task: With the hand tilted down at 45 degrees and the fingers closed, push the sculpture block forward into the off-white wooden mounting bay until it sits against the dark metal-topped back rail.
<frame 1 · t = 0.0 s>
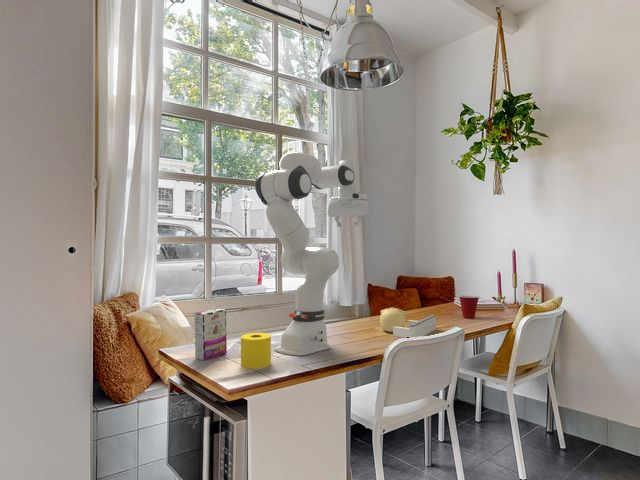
hand: (347, 226, 191), 48 cm above the table, tool pointing down, fingers open, 8 cm apart
yellow toilet paper roll: (256, 364, 141), on the table
plastic cup: (468, 318, 222), on the table
candy bar box: (210, 356, 150), on the table
sculpture: (392, 331, 191), on the table
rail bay: (419, 334, 184), on the table
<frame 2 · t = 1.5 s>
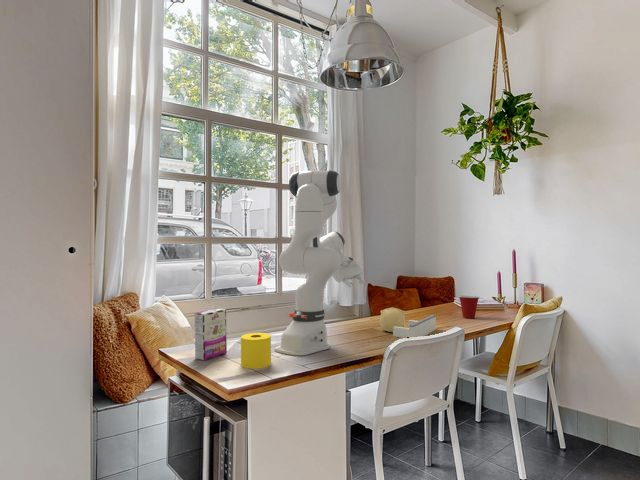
hand: (357, 285, 201), 20 cm above the table, tool tilted 45°, fingers open, 8 cm apart
nothing on the table moved.
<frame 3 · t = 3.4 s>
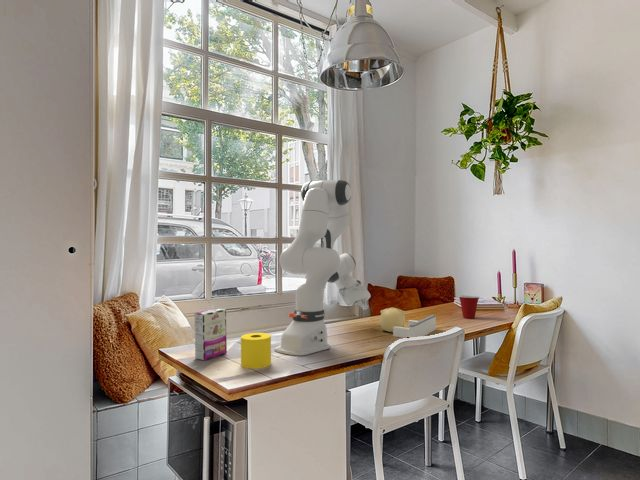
hand: (366, 308, 199), 9 cm above the table, tool tilted 45°, fingers closed
nothing on the table moved.
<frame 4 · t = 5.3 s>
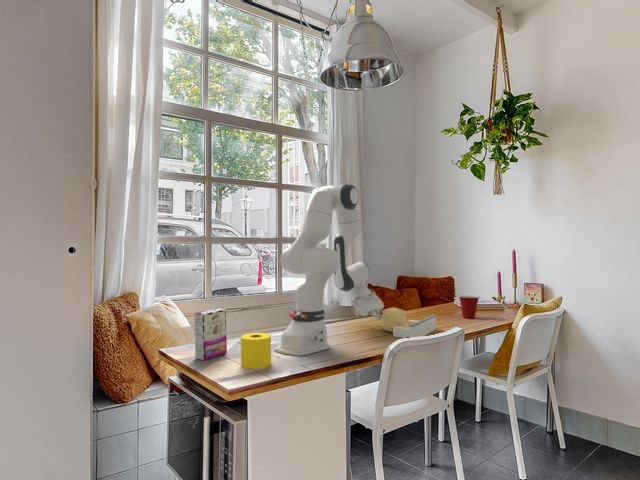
hand: (380, 319, 194), 5 cm above the table, tool tilted 45°, fingers closed
sculpture: (393, 331, 191), on the table, touching gripper
everything else where it was.
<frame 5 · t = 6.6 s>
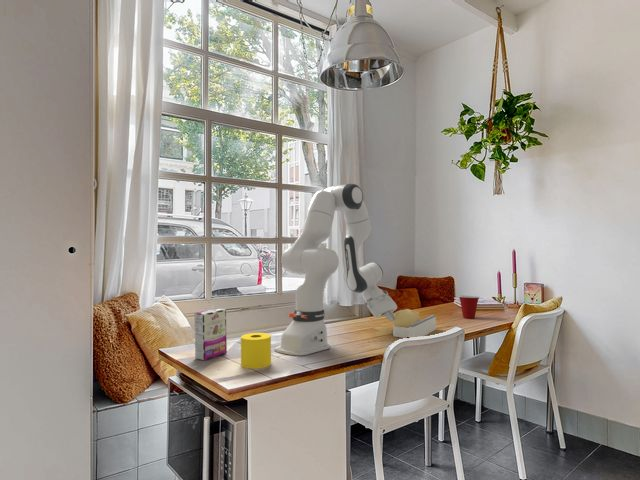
hand: (394, 320, 191), 5 cm above the table, tool tilted 45°, fingers closed, pressing on sculpture
sculpture: (406, 333, 186), on the table, touching gripper
everything else where it was.
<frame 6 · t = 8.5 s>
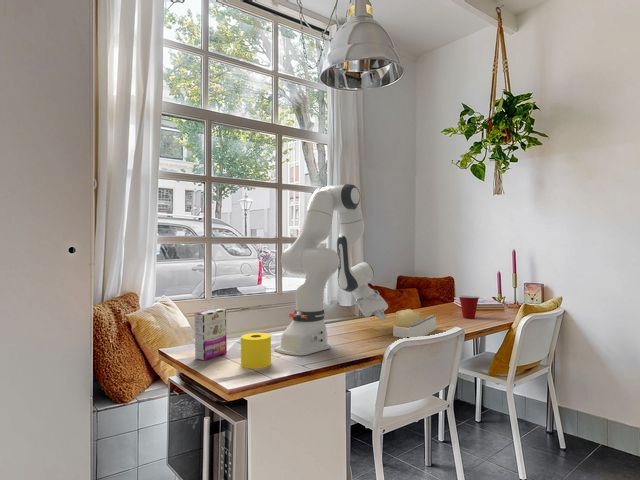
hand: (384, 319, 193), 5 cm above the table, tool tilted 45°, fingers closed
sculpture: (408, 333, 186), on the table, touching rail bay
everything else where it was.
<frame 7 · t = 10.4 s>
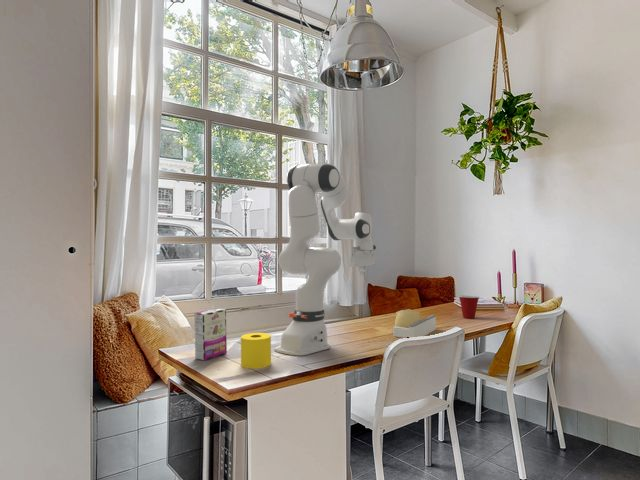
hand: (362, 275, 199), 25 cm above the table, tool pointing down, fingers closed
nothing on the table moved.
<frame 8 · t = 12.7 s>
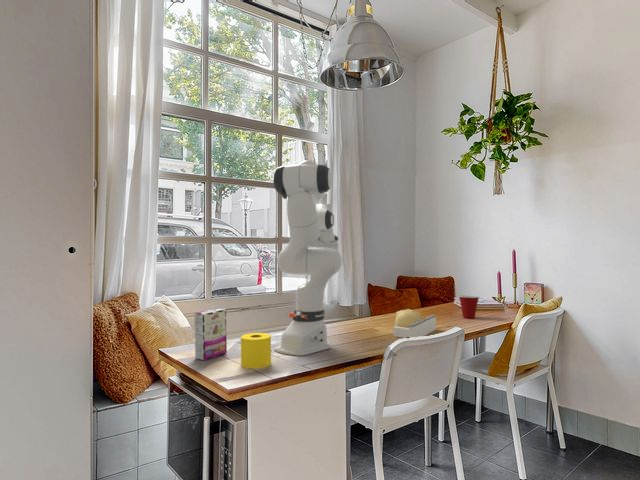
hand: (324, 266, 200), 29 cm above the table, tool pointing down, fingers closed
nothing on the table moved.
at the end: sculpture inside the target area (0.6 cm from its centre), on the table; sculpture moved 7.7 cm from its start; sculpture tilted 0° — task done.
